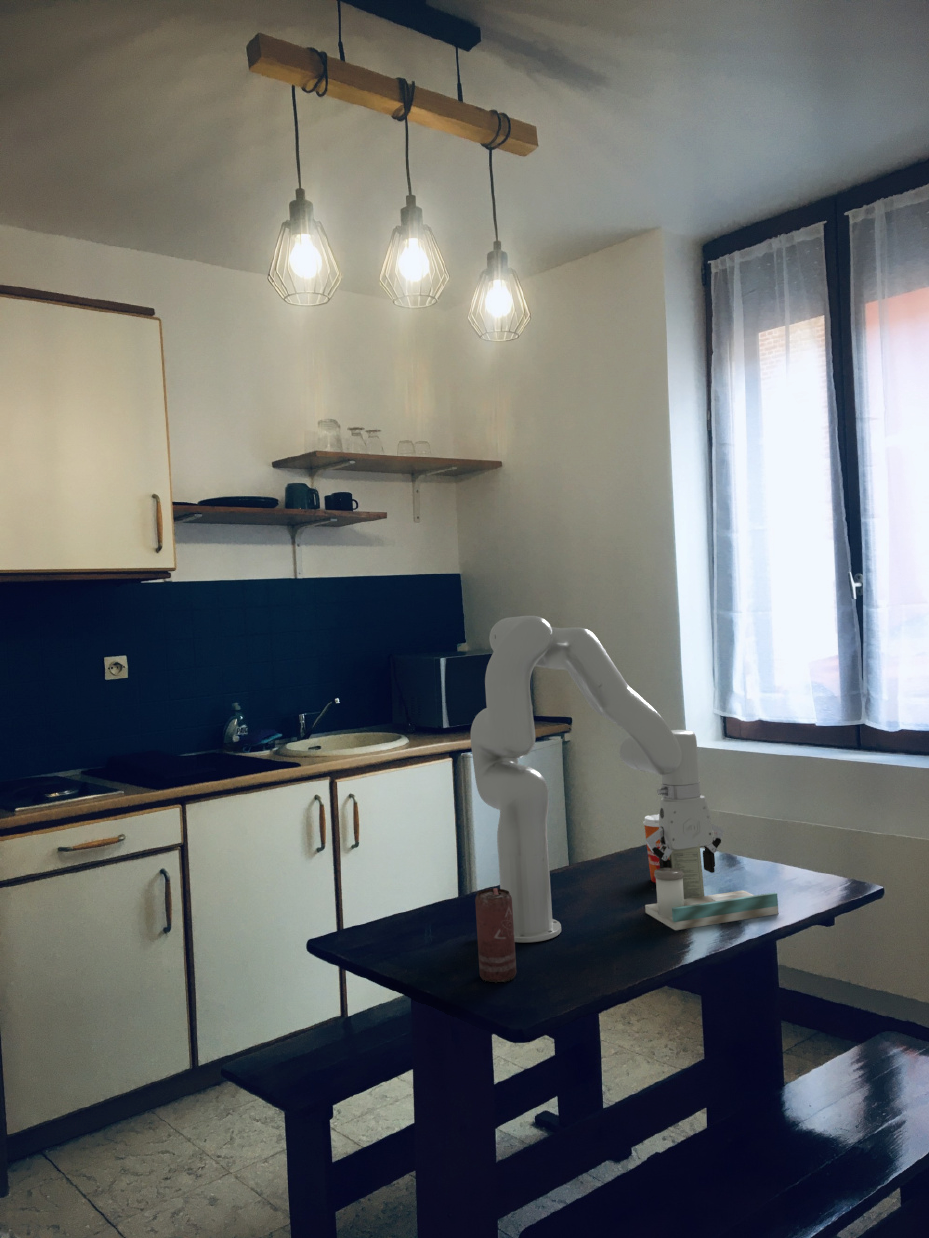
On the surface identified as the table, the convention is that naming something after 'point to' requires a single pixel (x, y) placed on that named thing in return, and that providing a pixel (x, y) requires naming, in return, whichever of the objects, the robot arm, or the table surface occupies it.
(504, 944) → the can
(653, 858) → the paper cup
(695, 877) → the skincare box
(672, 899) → the cream jar
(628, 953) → the table surface
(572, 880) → the table surface
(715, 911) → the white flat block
